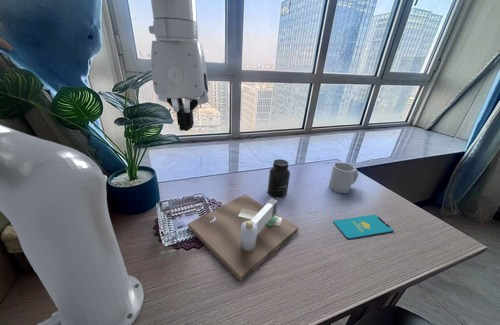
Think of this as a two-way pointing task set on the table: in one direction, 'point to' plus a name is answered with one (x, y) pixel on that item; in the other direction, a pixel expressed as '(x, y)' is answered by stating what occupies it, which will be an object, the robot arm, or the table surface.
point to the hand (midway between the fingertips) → (186, 128)
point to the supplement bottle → (279, 179)
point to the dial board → (229, 235)
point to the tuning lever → (256, 225)
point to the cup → (342, 177)
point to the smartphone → (362, 226)
